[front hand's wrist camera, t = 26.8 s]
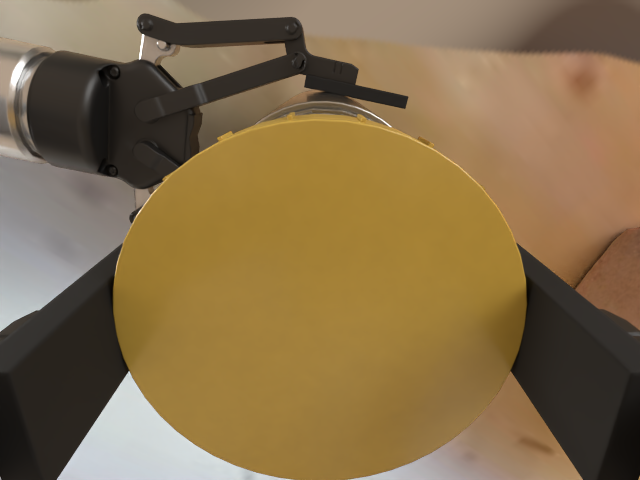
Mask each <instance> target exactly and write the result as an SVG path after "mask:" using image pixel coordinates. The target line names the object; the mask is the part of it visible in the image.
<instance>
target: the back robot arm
mask: <svg viewBox="0 0 640 480" xmlns="http://www.w3.org/2000/svg"><path fill="white" fill-rule="evenodd" d="M137 27H138V30H139V31H140V32H141V33H142V34H143V37H142V44H141V51H140V59H138V60H134V61H132V62H129V63H121V62H116V61H112V60H107V59H102V58H97V57H92V56H88V55H83V54H78V53H73V52H69V51H57V52H56V51H55V50H53V49H52V48H49V47H45V46H40V45H35V44H31V43H26V42H21V41H17V40H12V39H7V38H2V37H0V156H4V157H9V158H14V159H19V160H24V161H29V162H34V163H39V164H45V163H50V164H51V165H53V166H56V167H61V168H66V169H71V170H76V171H82V172H87V173H92V174H97V175H102V176H109V177H115V178H118V179H121V180H123V181H124V182H126V183H127V184H129V185H130V186H131V187H133V188H134V192H135V207H136V210H135V211H134V212H132V213H131V215H130V218H129V219H130V222H131V223H133V221H134V219H135V217H136V215H137V214H138V213H139V211H140V210H141V208H142V207H143V206H144V204H145V203H146V201H147V200H148V199H149V197H150V196H151V194H152V193H153V192H154V188H153V186H154V185H156V184H158V183H161V182H163V180H162V179H163V178H164V177H165V176H167V175H169V174H170V173H172V172H174V171H175V170H176V169H178V168H179V167H180V166H182V165H183V164H184V163H186V162H187V161H188V160H190V159H191V158H192V157H194V156H195V155H196V154H198V153H199V142H198V132H199V129H200V127H201V124H202V113H200V110H199V106H202V105H205V104H208V103H211V102H214V101H217V100H220V99H223V98H226V97H229V96H232V95H236V94H239V93H242V92H245V91H248V90H251V89H254V88H257V87H260V86H264V85H267V84H270V83H273V82H276V81H279V80H282V79H285V78H289V77H292V76H295V75H298V74H303V75H306V80H305V86H304V87H305V88H310V89H315V90H319V91H324V92H329V93H333V94H338V95H343V96H347V97H352V98H357V99H361V100H366V101H371V102H375V103H380V104H385V105H390V106H394V107H399V108H404V109H405V108H406V104H407V100H408V96H404V95H399V94H394V93H390V92H385V91H380V90H376V89H371V88H367V87H362V86H357V85H355V83H356V79H357V74H358V68H356V67H355V66H354V65H352V64H349V63H345V62H340V61H335V60H331V59H326V58H322V57H317V56H314V55H311V54H310V53H309V52H308V51H307V49H306V45H305V39H304V31H303V28H302V25H301V23H300V21H299V20H298V19H296V18H293V17H285V18H266V19H248V20H230V21H211V22H193V23H174V22H171V21H168V20H165V19H162V18H159V17H156V16H153V15H150V14H142V15H140V16H139V17H138V19H137ZM279 43H285V47H286V53H287V55H285V56H282V57H279V58H276V59H273V60H270V61H267V62H264V63H261V64H257V65H254V66H251V67H248V68H245V69H242V70H239V71H236V72H233V73H230V74H227V75H224V76H221V77H218V78H215V79H212V80H209V81H206V82H202V83H199V84H195V85H192V86H188V87H185V88H182V87H181V86H180V84H179V83H178V82H177V81H176V80H175V79H174V78H173V77H172V76H171V75H170V74H169V73H168V72H167V71H166V70H165V69H164V68H163V67H162V66H161V65H160V63H161V60H162V59H163V58H164V57H167V56H172V57H173V56H176V55H177V54H178V53H179V51H180V46H184V47H190V48H204V47H223V46H241V45H260V44H279Z"/></svg>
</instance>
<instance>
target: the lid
mask: <svg viewBox="0 0 640 480" xmlns="http://www.w3.org/2000/svg"><path fill="white" fill-rule="evenodd" d="M366 119H367V118H365V117H364V116H363V115H360V114H357V118H355V117H350V116H345V115H328V114H309V115H298V116H295V112H291V113H290V114H289V115H288V116H287V117H283V118H279V119H275V120H270V121H266V122H262V123H259V124H256V125H254V126H251V127H248V128H246V129H243V130H241V131H238V132H236V133H234V134H233V133H232V131H230V132H228V133H226V134H224V135H222V136H220V137H218V138H217V139H218V141H219V142H218V143H216V144H214V145H212V146H210V147H209V148H207V149H205V150H203V151H202V152H200V153H198V154H196V155H195V156H194V157H192V158H191V159H190V160H188V161H187V162H186V163H184V164H183V165H182V166H180V167H179V168H178V169H176V170H175V171H174V172H172V173H170V174H169V175H167V176H165V177H164V178H163V179H162V180H163V181H164V182H163V183H162V184H161V185H160V186H159V187H158V188H157V189H156V190H155V191H154V192H153V193H152V194H151V196H150V197H149V199H148V200H147V201H146V203H145V204H144V206H143V207H142V208H141V210H140V211H139V213H138V214H137V215H136V217H135V219H134V221H133V223H132V225H131V227H130V229H129V231H128V233H127V235H126V237H125V239H124V243H123V246H122V249H121V252H120V255H119V258H118V261H117V266H116V272H115V279H114V285H113V315H114V322H115V328H116V333H117V338H118V342H119V345H120V349H121V352H122V355H123V358H124V360H125V362H126V365H127V367H128V369H129V371H130V373H131V375H132V378H133V379H134V381H135V383H136V384H137V386H138V387H139V389H140V390H141V392H142V394H143V395H144V397H145V398H146V399H147V400H148V402H149V403H150V404H151V405H152V406H153V408H154V409H155V410H156V411H157V413H158V414H159V415H160V416H161V417H162V418H163V419H164V420H165V421H166V422H167V423H169V424H170V425H171V426H172V427H173V428H174V429H175V430H176V431H177V432H179V433H180V434H181V435H183V436H184V437H185V438H187V439H188V440H189V441H191V442H192V443H193V444H195V445H196V446H198V447H200V448H202V449H203V450H205V451H207V452H208V453H210V454H212V455H213V456H216V457H218V458H220V459H222V460H224V461H227V462H229V463H231V464H233V465H236V466H239V467H242V468H245V469H247V470H250V471H253V472H257V473H261V474H265V475H270V476H274V477H278V478H286V479H294V480H347V479H354V478H360V477H366V476H371V475H375V474H378V473H382V472H386V471H390V470H393V469H395V468H398V467H401V466H403V465H406V464H409V463H411V462H414V461H416V460H418V459H420V458H422V457H424V456H426V455H428V454H430V453H432V452H433V451H435V450H437V449H438V448H440V447H441V446H443V445H444V444H446V443H447V442H449V441H451V440H452V439H453V438H455V437H456V436H457V435H458V434H460V433H461V432H462V431H463V430H464V429H466V428H467V427H468V426H469V425H470V424H471V423H472V422H473V421H474V420H475V419H476V418H477V417H478V416H479V415H480V414H481V413H482V412H483V411H484V410H485V409H486V408H487V406H488V405H489V404H490V402H491V401H492V400H493V398H494V397H495V396H496V394H497V393H498V392H499V390H500V389H501V387H502V385H503V383H504V382H505V380H506V378H507V376H508V375H509V373H510V371H511V369H512V366H513V364H514V361H515V359H516V356H517V354H518V351H519V348H520V344H521V340H522V336H523V331H524V326H525V319H526V309H527V294H526V278H525V274H524V269H523V264H522V259H521V255H520V252H519V249H518V247H517V244H516V242H515V239H514V236H513V234H512V231H511V229H510V227H509V226H508V224H507V222H506V220H505V219H504V217H503V215H502V213H501V212H500V210H499V208H498V207H497V205H496V204H495V203H494V202H493V200H492V199H491V198H490V197H489V195H488V194H487V193H486V192H485V188H484V187H483V186H482V185H480V184H479V183H477V182H476V181H475V180H474V179H473V178H472V177H471V176H470V175H469V174H468V173H466V172H465V171H464V170H463V169H462V168H461V167H460V166H459V165H457V164H456V163H454V162H453V161H451V160H450V159H448V158H447V157H446V156H444V155H443V154H441V153H440V152H438V151H437V150H435V149H434V148H433V146H434V144H432V143H431V142H429V141H427V140H425V139H423V138H421V137H419V138H418V140H417V139H415V138H413V137H411V136H409V135H407V134H405V133H403V132H401V131H399V130H397V129H395V128H392V127H389V126H386V125H383V124H380V123H377V122H374V121H371V120H366Z"/></svg>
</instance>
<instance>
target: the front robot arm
mask: <svg viewBox="0 0 640 480" xmlns="http://www.w3.org/2000/svg"><path fill="white" fill-rule="evenodd" d="M516 244H517V243H516ZM122 246H123V243H122V244H121V245H120V246H119V247H117V248H116V249H115V250H114V251H113V252H111V253H110V254H109V255H108V256H106V257H105V258H104V259H103V260H101V261H100V262H99V263H98V264H96V265H95V266H94V267H93V268H91V269H90V270H89V271H88V272H86V273H85V274H84V275H83V276H82V277H80V278H79V279H78V280H77V281H75V282H74V283H73V284H72V285H70V286H69V287H68V288H67V289H65V290H64V291H63V292H62V293H60V294H59V295H58V296H57V297H56V298H54V299H53V300H52V301H51V302H49V303H48V304H47V305H46V306H44V307H43V308H42V309H41V310H39V311H34V312H32V313H30V314H28V315H26V316H24V317H22V318H20V319H18V320H16V321H14V322H13V323H11V324H10V325H9V326H7V327H6V328H5V329H4V330H2V331H1V332H0V477H1V480H57V478H58V477H59V475H60V474H61V472H62V471H63V469H64V468H65V466H66V465H67V463H68V462H69V460H70V459H71V457H72V456H73V454H74V453H75V451H76V450H77V448H78V447H79V445H80V444H81V442H82V441H83V439H84V438H85V436H86V435H87V433H88V432H89V430H90V429H91V427H92V426H93V424H94V423H95V421H96V420H97V418H98V417H99V415H100V414H101V412H102V411H103V409H104V408H105V406H106V405H107V403H108V402H109V400H110V399H111V397H112V396H113V394H114V393H115V391H116V390H117V388H118V387H119V385H120V384H121V382H122V381H123V379H124V378H125V376H126V374H127V373H128V371H129V369H128V367H127V365H126V362H125V360H124V358H123V355H122V352H121V349H120V345H119V342H118V338H117V333H116V328H115V322H114V315H113V285H114V279H115V272H116V266H117V261H118V258H119V255H120V252H121V249H122ZM517 247H518V249H519V252H520V255H521V259H522V264H523V269H524V274H525V278H526V294H527V309H526V319H525V326H524V331H523V336H522V340H521V344H520V348H519V351H518V354H517V356H516V359H515V361H514V364H513V366H512V369H511V372H512V373H513V375H514V376H515V378H516V379H517V381H518V382H519V384H520V385H521V387H522V388H523V390H524V391H525V393H526V394H527V396H528V397H529V399H530V400H531V402H532V403H533V405H534V406H535V408H536V409H537V411H538V412H539V414H540V416H541V417H542V419H543V420H544V422H545V423H546V425H547V426H548V428H549V429H550V431H551V432H552V434H553V435H554V437H555V438H556V440H557V441H558V443H559V444H560V446H561V447H562V449H563V450H564V452H565V453H566V455H567V456H568V458H569V459H570V461H571V462H572V464H573V465H574V467H575V468H576V470H577V471H578V473H579V474H580V476H581V477H582V479H583V480H638V479H639V476H640V330H639V329H637V328H636V327H635V326H634V325H632V324H631V323H630V322H628V321H627V320H625V319H623V318H621V317H619V316H617V315H615V314H613V313H611V312H609V311H607V310H605V309H598V308H597V307H595V306H594V305H593V304H592V303H590V302H589V301H588V300H587V299H585V298H584V297H583V296H582V295H580V294H579V293H578V292H577V291H576V290H574V289H573V288H572V287H571V286H569V285H568V284H567V283H566V282H564V281H563V280H562V279H561V278H559V277H558V276H557V275H556V274H554V273H553V272H552V271H551V270H549V269H548V268H547V267H546V266H545V265H543V264H542V263H541V262H540V261H538V260H537V259H536V258H535V257H533V256H532V255H531V254H530V253H528V252H527V251H526V250H525V249H523V248H522V247H521V246H520V245H519V244H517Z"/></svg>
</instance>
